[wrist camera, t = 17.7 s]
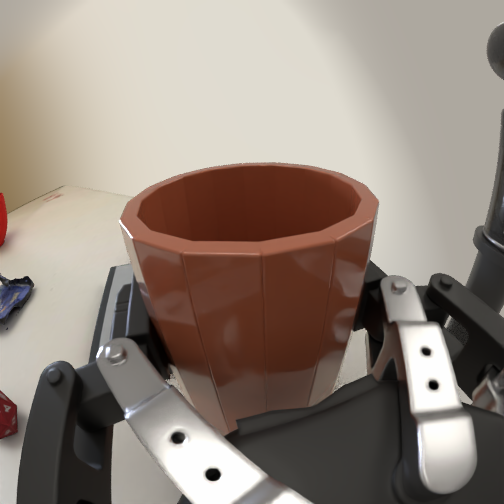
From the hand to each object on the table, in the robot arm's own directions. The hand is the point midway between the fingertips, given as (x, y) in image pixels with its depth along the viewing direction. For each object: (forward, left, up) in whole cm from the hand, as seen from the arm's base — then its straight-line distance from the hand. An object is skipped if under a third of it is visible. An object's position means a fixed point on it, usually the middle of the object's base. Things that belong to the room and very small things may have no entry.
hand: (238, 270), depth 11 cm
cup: (0, +2, -6) cm, 6 cm away
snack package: (+28, -15, -10) cm, 33 cm away
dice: (+19, +1, -10) cm, 22 cm away
